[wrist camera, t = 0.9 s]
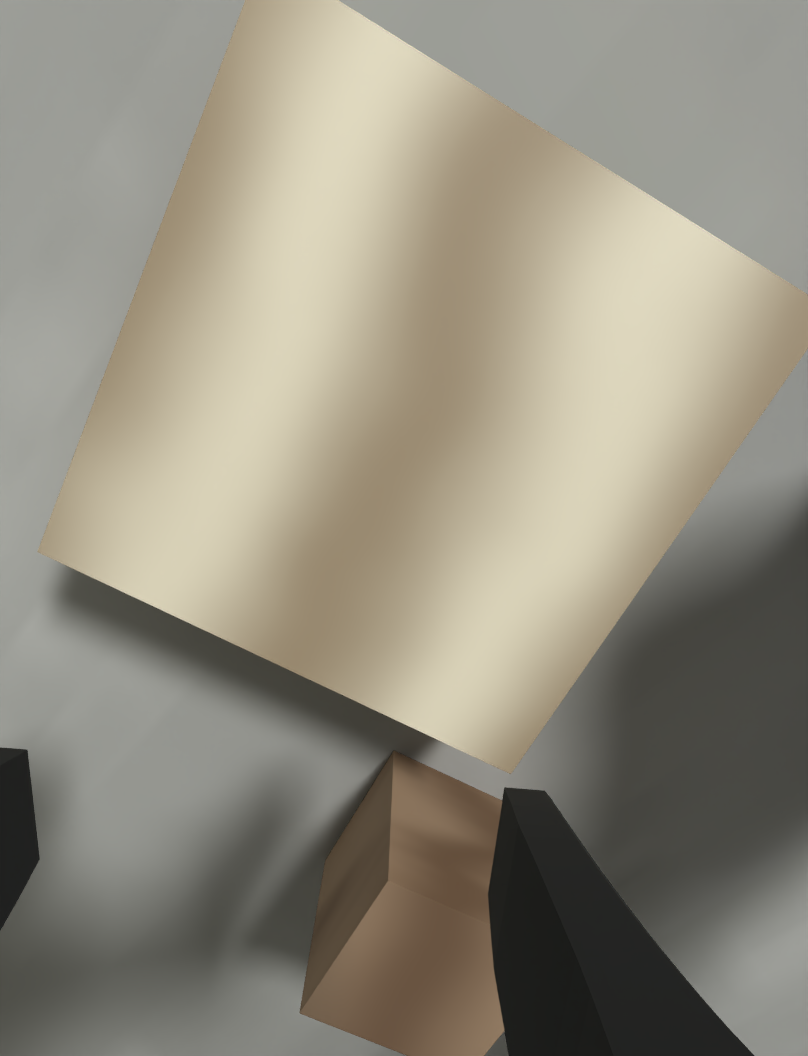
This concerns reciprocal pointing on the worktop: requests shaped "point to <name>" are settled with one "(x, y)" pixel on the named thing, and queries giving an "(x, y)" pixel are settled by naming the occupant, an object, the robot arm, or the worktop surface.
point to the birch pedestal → (411, 386)
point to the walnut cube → (409, 918)
